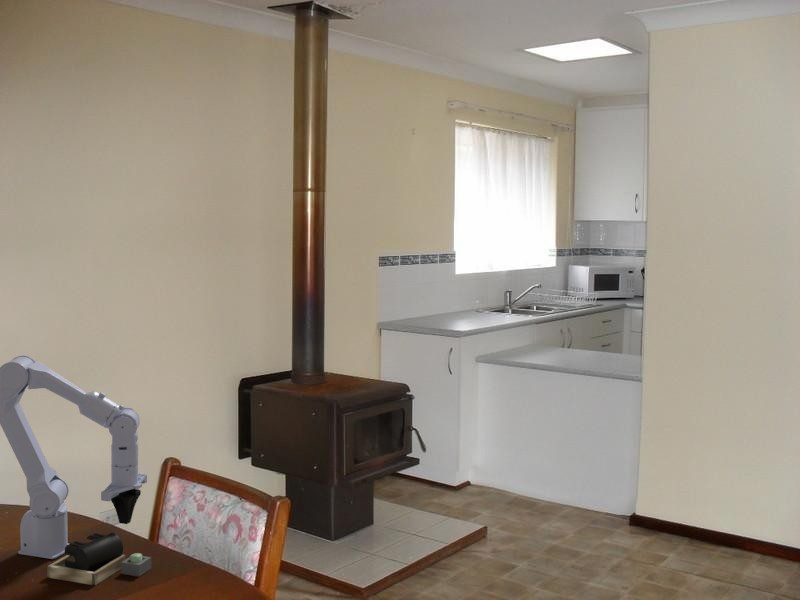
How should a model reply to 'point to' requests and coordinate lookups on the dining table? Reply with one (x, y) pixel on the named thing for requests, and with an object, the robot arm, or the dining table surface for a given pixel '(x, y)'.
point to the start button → (136, 558)
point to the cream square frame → (83, 571)
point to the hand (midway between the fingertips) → (124, 522)
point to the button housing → (136, 566)
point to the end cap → (94, 552)
